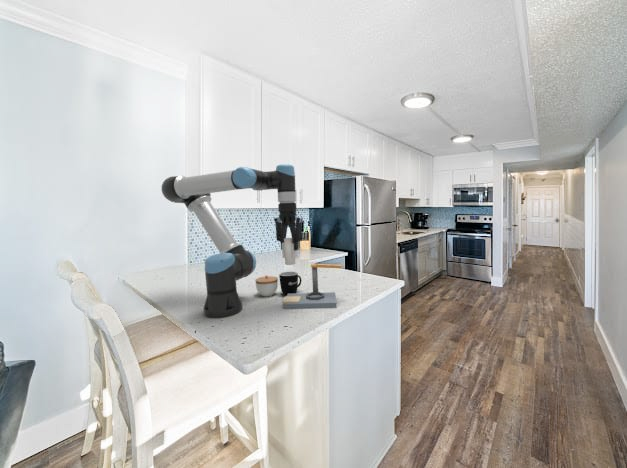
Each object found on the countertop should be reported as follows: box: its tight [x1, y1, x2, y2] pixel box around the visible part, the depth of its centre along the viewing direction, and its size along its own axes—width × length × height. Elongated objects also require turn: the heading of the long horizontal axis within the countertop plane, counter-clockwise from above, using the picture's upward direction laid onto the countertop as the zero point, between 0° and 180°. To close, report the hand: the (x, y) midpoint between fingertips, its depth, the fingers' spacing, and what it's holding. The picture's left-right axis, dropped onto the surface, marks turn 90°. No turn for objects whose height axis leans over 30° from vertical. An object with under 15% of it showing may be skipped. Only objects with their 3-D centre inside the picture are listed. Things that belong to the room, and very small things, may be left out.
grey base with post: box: [282, 267, 337, 310], centre depth 120 cm, size 22×14×14 cm, turn 87°
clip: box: [310, 263, 343, 269], centre depth 123 cm, size 14×3×1 cm, turn 69°
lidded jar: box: [255, 274, 279, 297], centre depth 134 cm, size 11×11×9 cm
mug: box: [278, 271, 302, 297], centre depth 134 cm, size 12×9×10 cm
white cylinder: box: [284, 237, 296, 266], centre depth 117 cm, size 4×4×11 cm
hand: (290, 257), depth 117 cm, fingers closed on white cylinder, 4 cm apart
